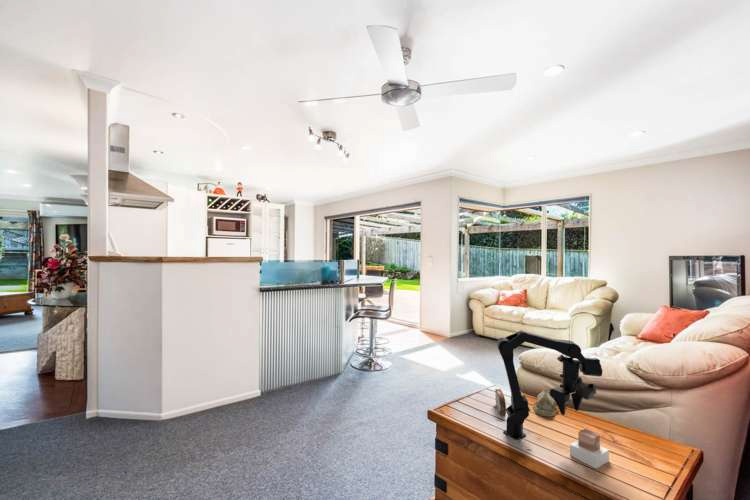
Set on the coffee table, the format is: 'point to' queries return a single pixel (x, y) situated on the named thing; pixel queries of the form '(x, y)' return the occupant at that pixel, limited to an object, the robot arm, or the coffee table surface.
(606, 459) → the base block
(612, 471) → the coffee table surface
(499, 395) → the mottled stone slab
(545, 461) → the coffee table surface
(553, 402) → the ceramic model
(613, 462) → the coffee table surface
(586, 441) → the terracotta cube
